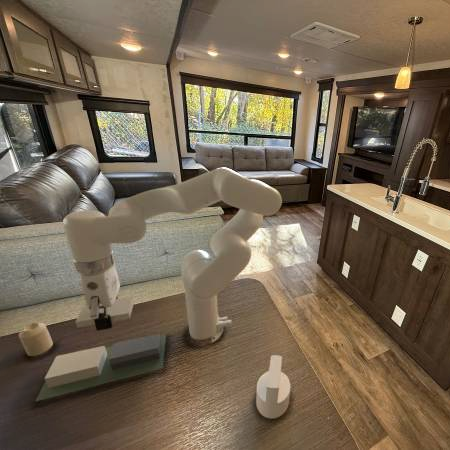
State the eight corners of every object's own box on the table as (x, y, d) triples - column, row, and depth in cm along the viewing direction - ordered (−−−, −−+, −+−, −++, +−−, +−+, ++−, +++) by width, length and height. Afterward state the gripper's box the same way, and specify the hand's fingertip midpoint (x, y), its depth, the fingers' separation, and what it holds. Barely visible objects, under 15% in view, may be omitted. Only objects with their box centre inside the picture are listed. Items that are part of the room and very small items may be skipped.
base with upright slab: (259, 382, 72) (260, 353, 67) (290, 385, 72) (293, 356, 67) (253, 416, 64) (253, 386, 59) (287, 420, 64) (291, 389, 59)
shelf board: (166, 337, 83) (165, 334, 83) (163, 371, 72) (162, 368, 72) (59, 361, 73) (58, 357, 72) (36, 405, 62) (34, 401, 61)
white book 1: (134, 301, 71) (133, 296, 70) (129, 318, 65) (128, 313, 64) (86, 308, 67) (85, 303, 66) (76, 327, 61) (75, 322, 60)
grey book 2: (161, 343, 79) (160, 338, 78) (159, 358, 75) (158, 353, 74) (116, 353, 75) (115, 348, 74) (111, 370, 70) (110, 364, 69)
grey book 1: (160, 338, 78) (159, 333, 78) (158, 353, 74) (157, 347, 73) (115, 348, 74) (113, 343, 73) (110, 364, 69) (108, 359, 68)
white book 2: (106, 349, 74) (104, 345, 73) (98, 370, 68) (97, 366, 67) (58, 360, 69) (56, 356, 69) (46, 383, 63) (44, 379, 63)
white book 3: (107, 354, 74) (106, 349, 74) (100, 375, 68) (98, 370, 68) (60, 364, 70) (58, 360, 69) (48, 388, 64) (46, 383, 63)
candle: (38, 361, 72) (26, 336, 68) (23, 356, 73) (11, 331, 69) (59, 346, 77) (49, 321, 73) (44, 342, 78) (34, 317, 74)
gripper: (104, 279, 54) (118, 339, 61) (121, 243, 68) (131, 295, 75) (59, 284, 51) (79, 347, 58) (87, 246, 65) (101, 299, 72)
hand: (108, 317), depth 66 cm, fingers closed on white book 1, 7 cm apart
